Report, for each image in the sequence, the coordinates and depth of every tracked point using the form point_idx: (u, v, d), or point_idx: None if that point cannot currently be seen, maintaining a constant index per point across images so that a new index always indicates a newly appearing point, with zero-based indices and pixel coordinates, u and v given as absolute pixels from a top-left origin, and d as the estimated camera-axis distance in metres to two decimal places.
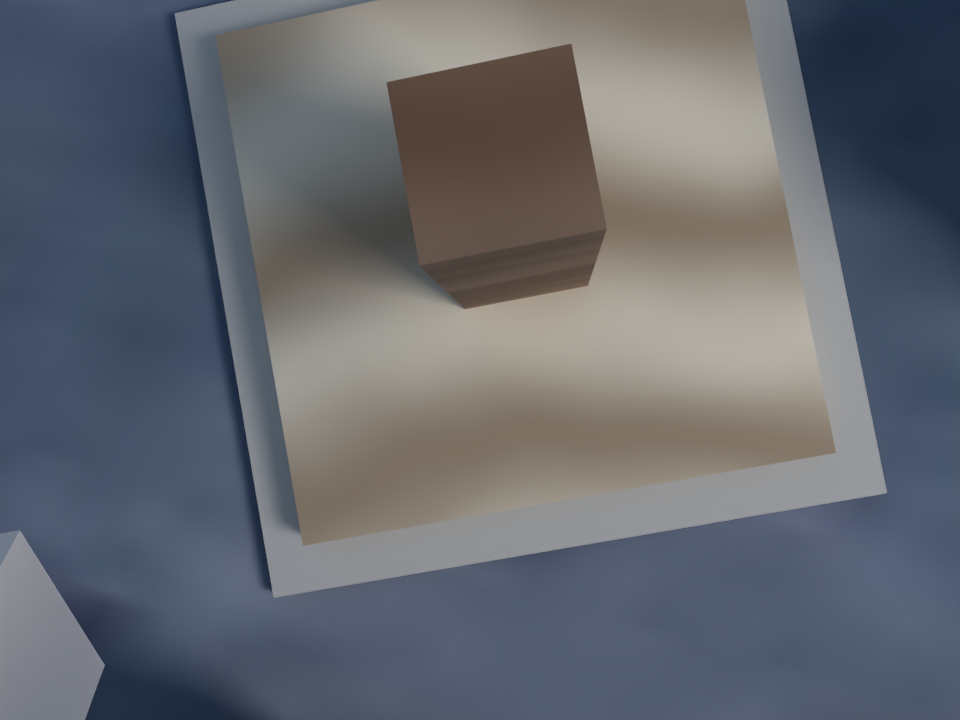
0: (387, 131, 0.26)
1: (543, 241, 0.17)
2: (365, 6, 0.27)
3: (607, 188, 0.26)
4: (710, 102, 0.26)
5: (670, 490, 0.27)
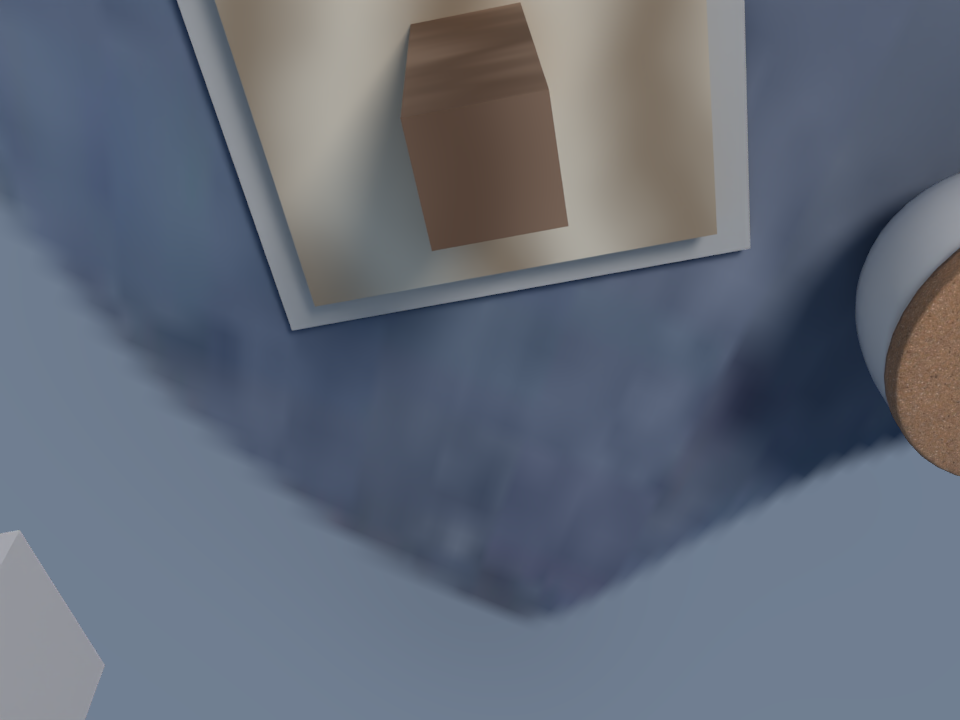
0: (386, 176, 0.32)
1: (555, 137, 0.22)
2: (281, 196, 0.32)
3: None
4: None
5: None
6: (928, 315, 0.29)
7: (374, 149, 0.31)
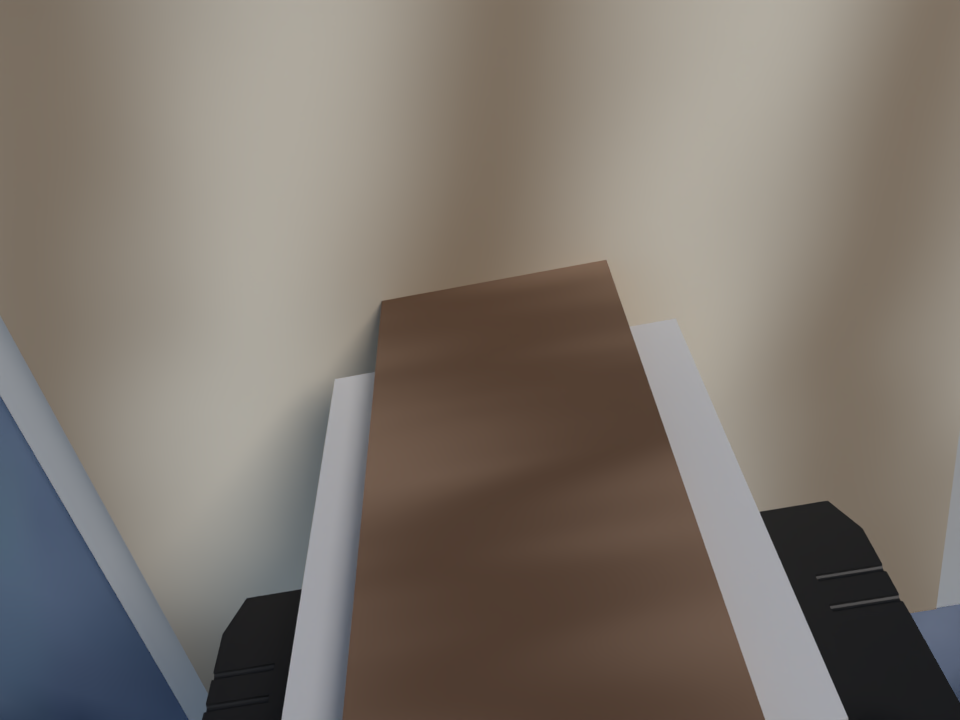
0: None
1: None
2: (147, 572, 0.17)
3: (423, 230, 0.14)
4: (235, 31, 0.12)
5: None
6: None
7: None
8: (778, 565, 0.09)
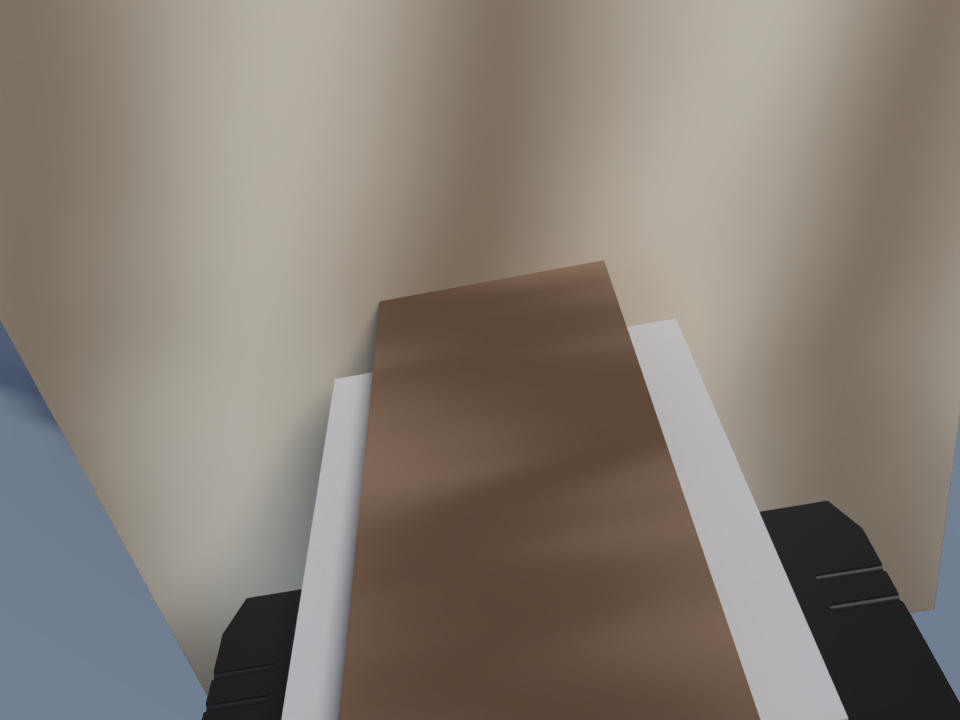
0: None
1: None
2: (145, 573, 0.17)
3: (421, 230, 0.14)
4: (232, 32, 0.12)
5: None
6: None
7: (315, 501, 0.16)
8: (778, 566, 0.09)
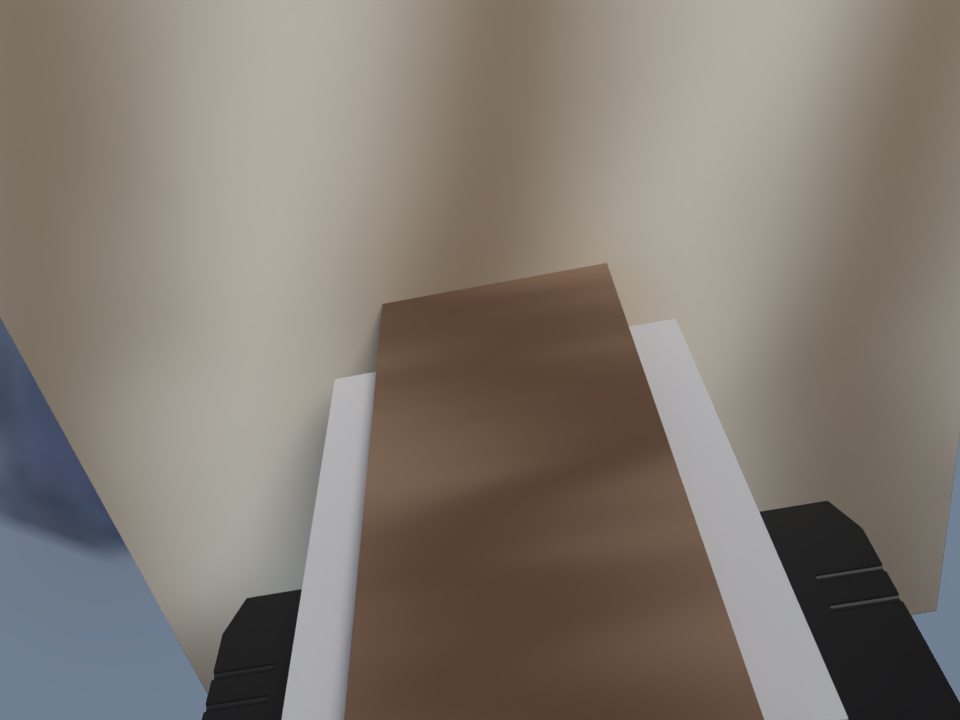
0: None
1: None
2: (148, 574, 0.17)
3: (424, 233, 0.14)
4: (236, 35, 0.12)
5: None
6: None
7: None
8: (779, 566, 0.09)
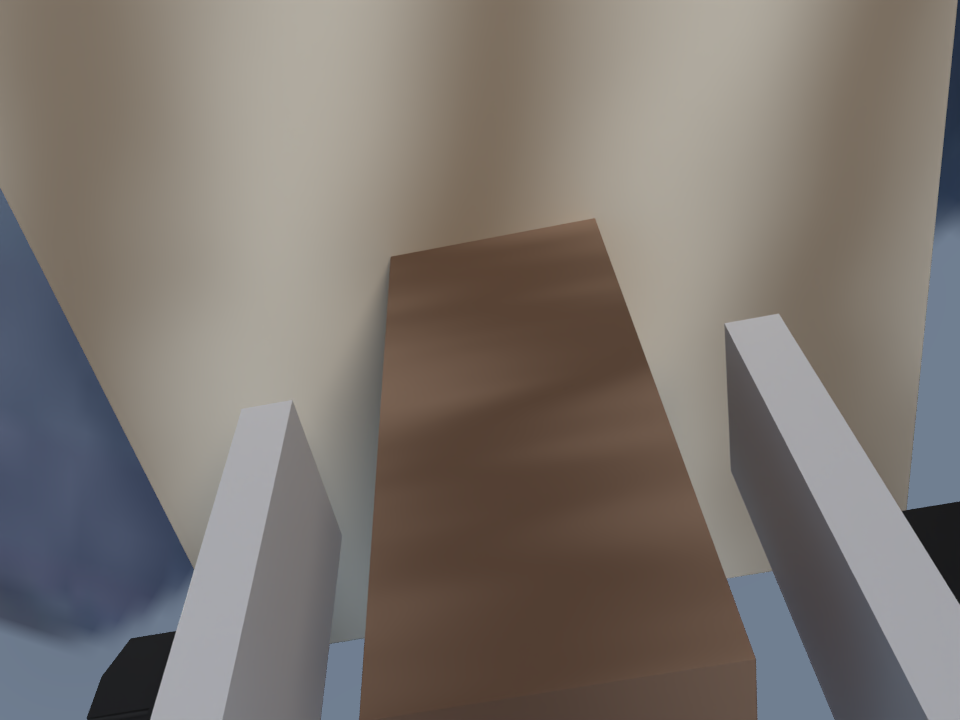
0: (351, 484, 0.18)
1: None
2: (172, 515, 0.19)
3: (429, 191, 0.15)
4: (260, 8, 0.13)
5: None
6: None
7: (330, 446, 0.18)
8: (930, 568, 0.09)
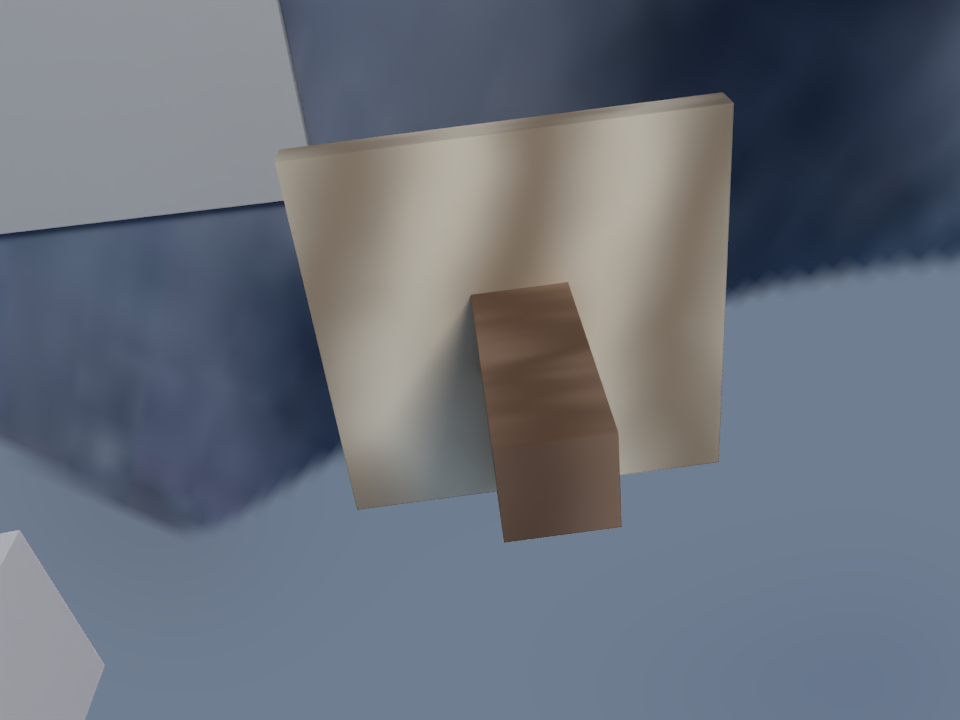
0: (434, 409, 0.36)
1: (619, 464, 0.26)
2: (339, 421, 0.35)
3: (492, 265, 0.32)
4: (429, 185, 0.31)
5: None
6: None
7: (426, 388, 0.35)
8: None
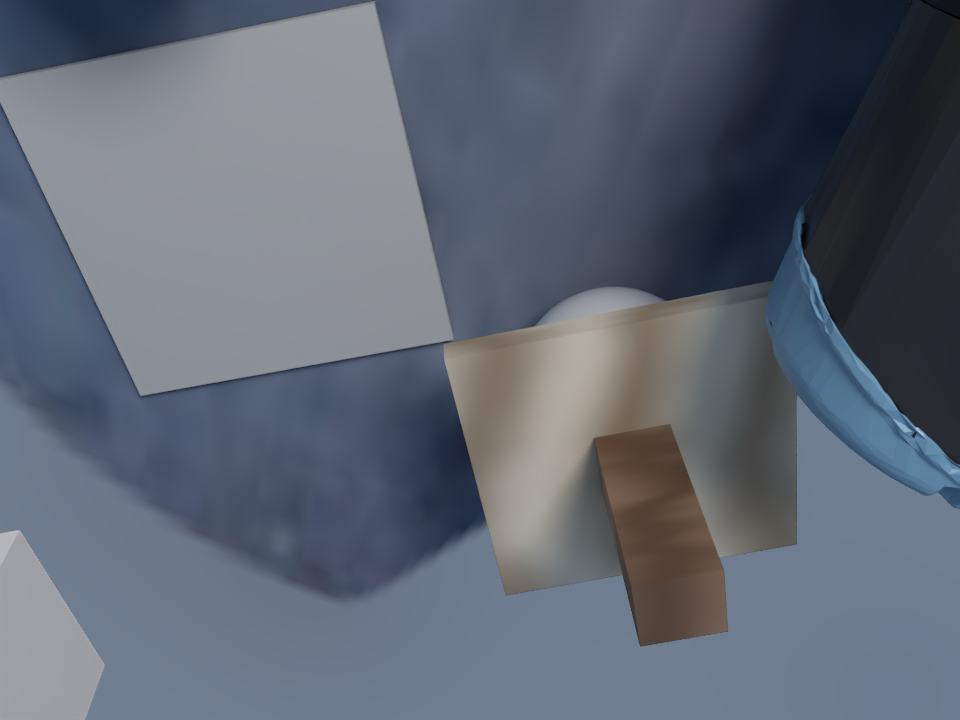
0: (566, 520, 0.45)
1: None
2: (491, 533, 0.45)
3: (610, 416, 0.42)
4: (561, 365, 0.40)
5: (381, 135, 0.44)
6: None
7: (560, 505, 0.44)
8: None
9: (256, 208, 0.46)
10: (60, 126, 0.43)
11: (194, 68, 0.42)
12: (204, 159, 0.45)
